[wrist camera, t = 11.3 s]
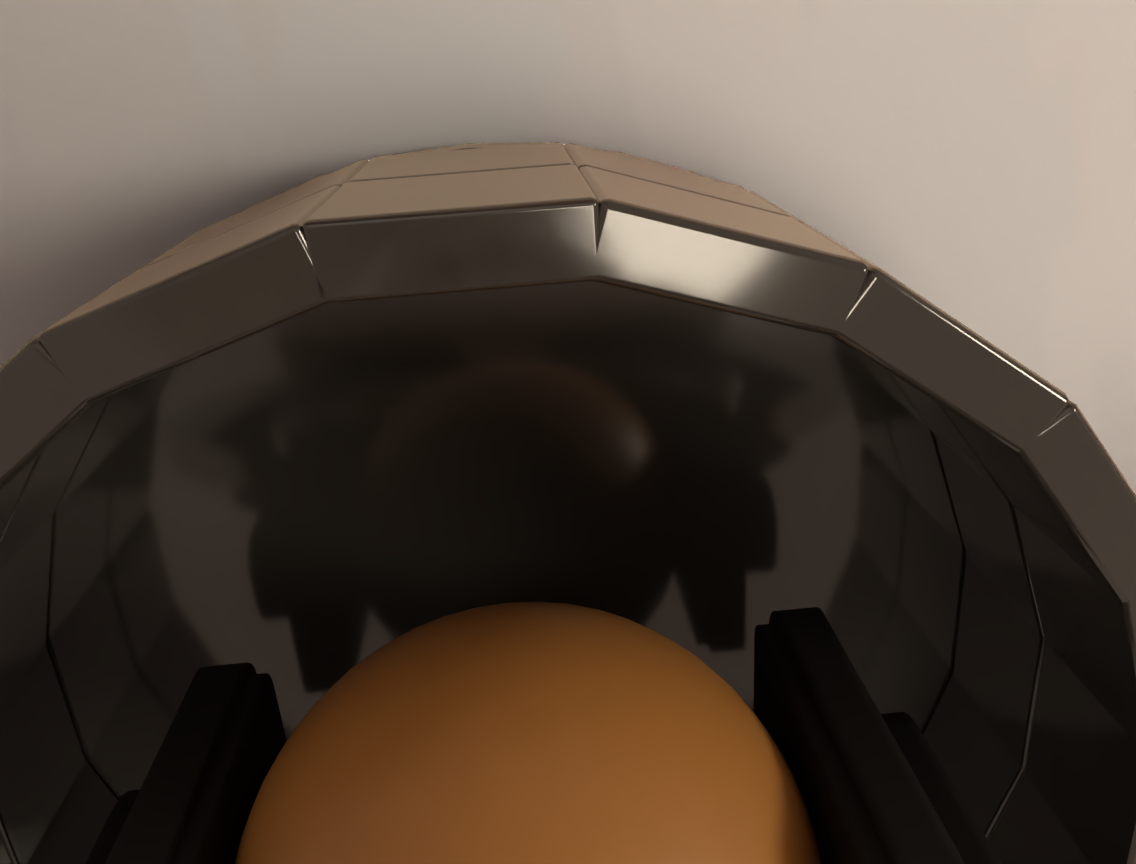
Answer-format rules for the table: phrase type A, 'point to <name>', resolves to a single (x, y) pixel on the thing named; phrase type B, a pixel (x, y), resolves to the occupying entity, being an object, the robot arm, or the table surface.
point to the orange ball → (530, 754)
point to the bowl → (552, 477)
